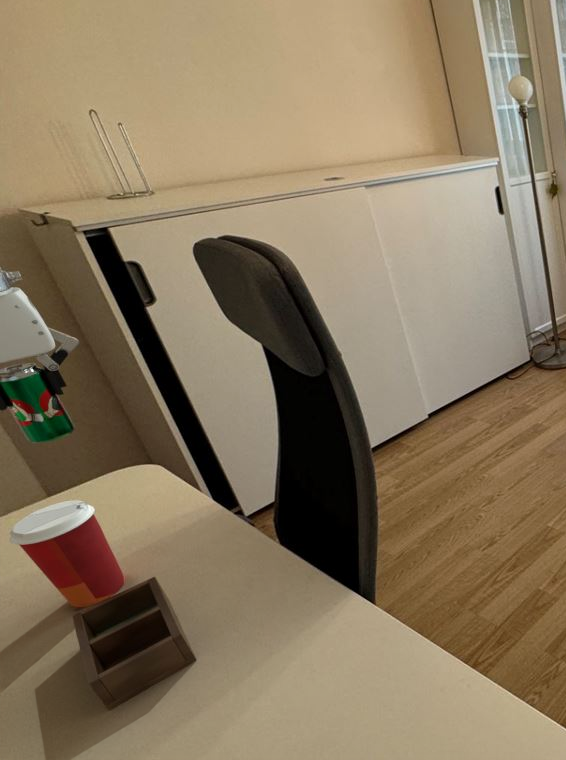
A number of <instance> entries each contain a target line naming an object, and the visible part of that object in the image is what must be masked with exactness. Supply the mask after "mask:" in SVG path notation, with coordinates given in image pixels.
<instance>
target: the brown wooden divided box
mask: <svg viewBox="0 0 566 760" xmlns="http://www.w3.org/2000/svg"><path fill="white" fill-rule="evenodd" d="M71 618H72V622H73V626H74V630H75V635H76V638H77V639H76V640H77V643H78V646H79V650H80V655H81V658H82V662H83V666H84V670H85V674H86V678H87V683H88V685H89V687H91V689H92V691H94V693H95V695H96V696H97V697H98V698H99V700H100V701H101V702H102V704H103V705H104V707H105V708H106V709H107V710H108V711H111V710H113V709H115V708H117V707H118V706H119V705H121V704H124V703H125V702H127V701H128V700H130V699H132V698H134V697H135V696H137V695H139V694H140V693H142V692H144V691H145V690H148V689H149V688H151V687H153V686H155V685H156V684H158V683H160V682H161V681H163V680H165V679H167V678H168V677H170V676H172V675H174V674H175V673H177V672H179V671H180V670H183V669H184V668H186V667H187V666H189V665H191V664H193V663H194V662H196V661H197V657H196V655H195V652H194V650H193V649H192V647H191V644H190V642H189V640H188V638H187V635H186V634H185V631H184V629H183V627H182V625H181V622H180V620H179V618H178V616H177V613H176V611H175V610H174V607H173V605H172V603H171V601H170V599H169V598H168V596H167V594H166V593H165V591H164V589H163V587H162V585H161V584H160V582H159V581H158V579H157V577H156V576H152V577H150V578H148V579H147V580H144V581H142V582H139V583H137V584H136V585H133V586H132V587H129V588H127V589H125V590H123V591H121V592H118V593H115V594H113V595H112V596H110V597H109V598H107V599H105V600H103V601H101V602H98V603H96V604H93V605H90V606H88V607H87V608H85V609H82V610H80V611H78V612H77V613H75V614H72V615H71Z"/></svg>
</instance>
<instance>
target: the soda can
mask: <svg viewBox="0 0 566 760" xmlns="http://www.w3.org/2000/svg"><path fill="white" fill-rule="evenodd" d="M43 369H44V368H42V367H40V366H38V365H37V364H36V363H35V362H25V363H18V364H13V365H9V366H6V367H3V368H0V395H1V397H2V398H3V400H4V402H5V403H6V405H7V407H8V408H7V409H8V410H9V412H10V414H11V415H12V417H13V418H14V420H15V422H16V423H17V426H18V427H19V429H20V430H21V432H22V433H23V435H24V437H25V438H26V440H27V441H28V442H30V443H33V444H47V443H50V442H55V441H58V440H61V439H63V438H65V437H67V436H70V434H73V432H74V430H75V428H76V425H75V424H74V422H73V420H72V419H71V416H70V415H69V413H68V411H67V409H66V408H65V406H64V404H63V402H62V400H61V399H60V397H59V395H57V394H56V392H55V391H54V389H53V387H52V385H51V383H50V382H49V380H48V378H47V376H46V374H45V373H44V370H43Z"/></svg>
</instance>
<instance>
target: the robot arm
mask: <svg viewBox="0 0 566 760" xmlns="http://www.w3.org/2000/svg"><path fill="white" fill-rule="evenodd" d="M23 280H24V279H23V277H22V275H21V273H20V271H17V270H16V271H6V270H2V268H1V267H0V365H1V364H5V363H10V362H14V361H15V362H16V361H18V360H22V359H28V358H34V359H35V360H36V361H37V362H39V363H40V364H41V365H42V367H43V368H42V369H43V370H44V373H45V374H46V376H47V378H48V380H49V382H50V383H51V385H52V387H53V389H54V391H55V392H56V394H57V395H58V396H62V395H64V394H65V393H64V392H63V389H62V388H65V387H68V386H67V383H66V382H65V380H64V378H63V376H62V375H61V373H60V371H59V369H60V366H62V364H63V362H64V361H65V360H66V358H67V357H68V356H69V354H70V353H72V351H74V350H75V349H76V347H78V345H80V341H79V340H78V338H76V337H73V336H71V335H69V334H67V333H65V332H64V333H63V332H61V331H59V330H56V329H53V328H51V327H49V326H47V324H46V322H45V320H44V318H42V315H41V314H40V313H39V311H38V309H37V308H36V306H35V304H33V302H32V301H31V300H30V298H29V297H28V296H27V294H26V293H25V292H24V291H23V290H22V289H21V288H20V287H15V286H13V287H12V286H11V285H13V283H17V282H18V281H23ZM55 341H56V342H59V343H61V344H60V346H58V348H56V342H55ZM55 348H56V349H55ZM54 349H55V350H54ZM53 350H54V351H53ZM51 351H53V353H52V354H49V353H50V352H51ZM7 409H9V408H8V407H7V405H6V403H5V402H4V400H3V398H2V397H1V395H0V411H1V412H2V411H5V410H7Z"/></svg>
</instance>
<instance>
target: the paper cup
mask: <svg viewBox="0 0 566 760" xmlns="http://www.w3.org/2000/svg"><path fill="white" fill-rule="evenodd" d="M95 511H96V510H95V507H94V506H93V505H90V504H87V503H86V502H85V501H83V500H80V499H71V500H66V501H61V502H57V503H54V504H50V505H48V506H45V507H43V508H39V509H37V510H35V511H34V512H32V513H30V514H28V515H26V516H25V517H23V518H22V519H20V520H19V521H17V522H16V523H15V524H14V525H13V527H12V530H10V534H9V535H10V537H9V543H10V544H13V545H19V547H20V548H21V549H22V550H23V551H24V552H25V554H26V555H27V556H28V557H29V558H30V559H31V560H32V562H33V563H34V564H35V565H36V566H37V568H38V569H39V570H40V571H41V572H42V574H44V576H45V577H46V578H47V579H48V580H49V582H50V583H51V584H52V585H53V586H54V587H55V589H57V590H58V592H59V593H60V594H61V595H62V596H63V597H64V598H65V600H66V601H67V602H68V603H69V604H70V605H71V606H72V607H74V608H86V607H91V606H93V605H95V604H97V603H99V602H101V601H104V600H106V599H108V598H110V597H112V596H114V595H116V594H117V592H119V591H120V590H122V588H123V587H124V585H125V583H126V577H125V575H124V573H123V571H122V569H121V567H120V565H119V562H118V560H117V558H116V556H115V555H114V552H113V550H112V548H111V547H110V544H109V541H108V540H107V537H106V536H105V533H104V531H103V529H102V527H101V525H100V523H99V521H98V519H97V517H96V516H95V514H94V513H95Z"/></svg>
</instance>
